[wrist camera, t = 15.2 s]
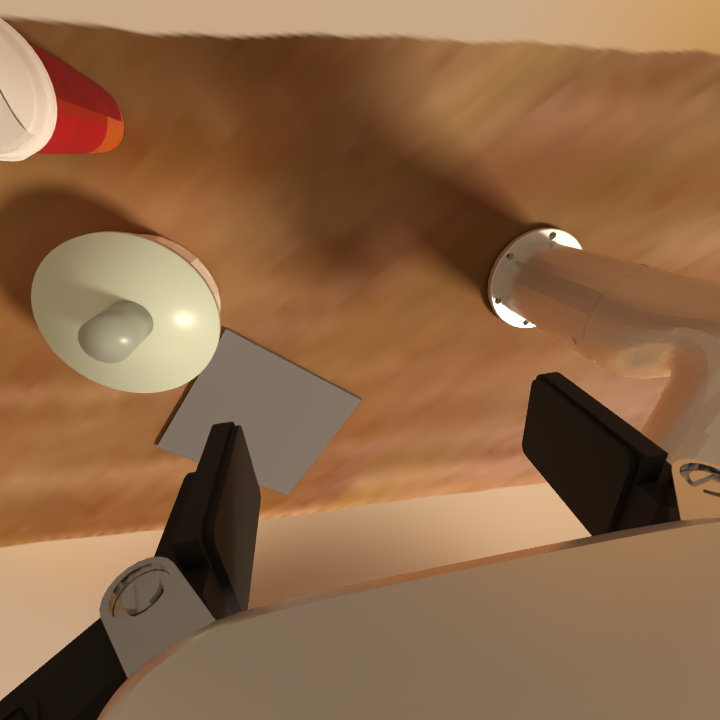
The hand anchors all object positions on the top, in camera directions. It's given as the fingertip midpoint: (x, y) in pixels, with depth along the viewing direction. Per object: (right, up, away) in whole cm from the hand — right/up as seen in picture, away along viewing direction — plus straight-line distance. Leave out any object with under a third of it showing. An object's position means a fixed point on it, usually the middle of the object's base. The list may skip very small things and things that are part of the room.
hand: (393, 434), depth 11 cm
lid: (-23, +7, +24) cm, 34 cm away
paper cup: (-26, +24, +21) cm, 41 cm away
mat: (-15, -6, +38) cm, 41 cm away
